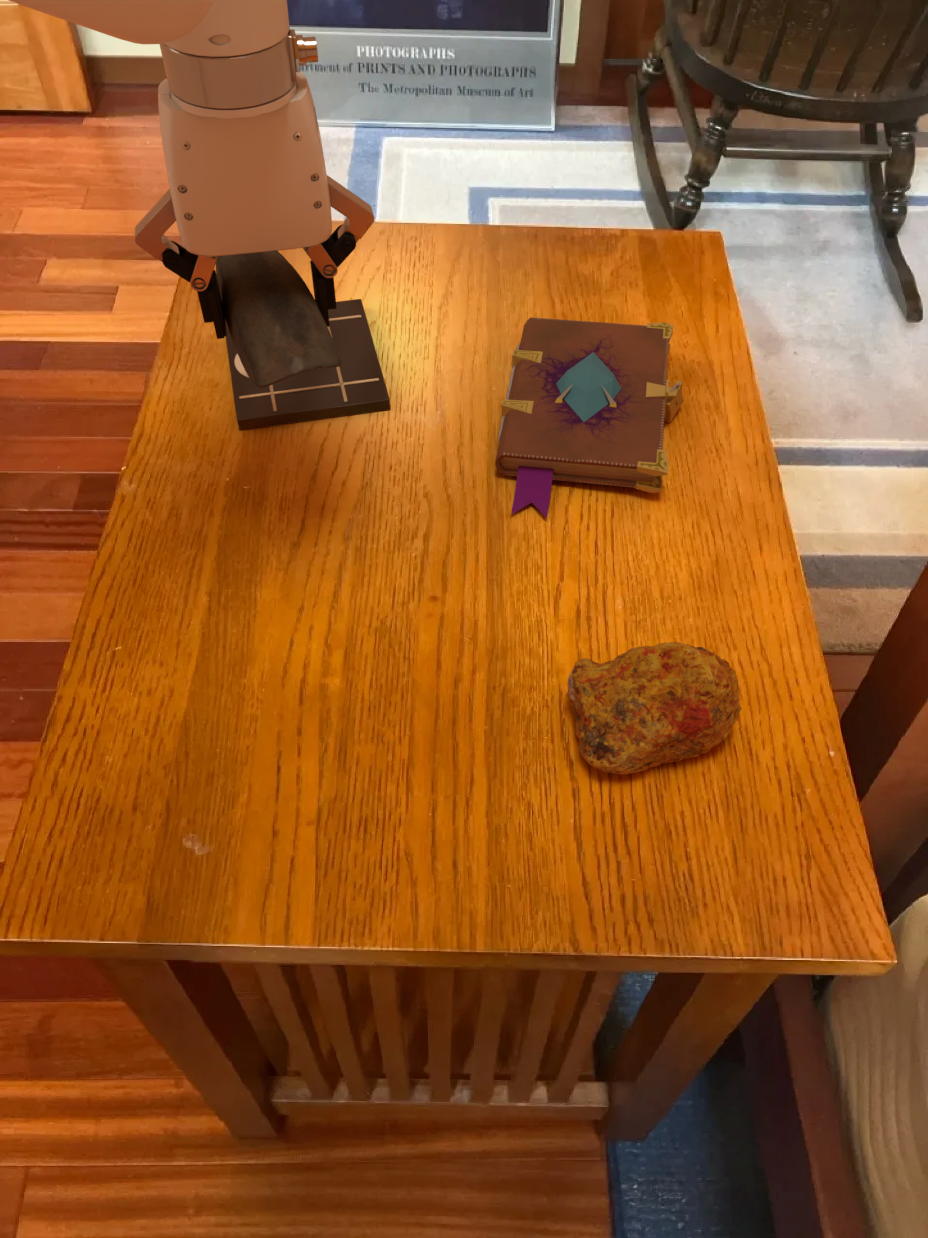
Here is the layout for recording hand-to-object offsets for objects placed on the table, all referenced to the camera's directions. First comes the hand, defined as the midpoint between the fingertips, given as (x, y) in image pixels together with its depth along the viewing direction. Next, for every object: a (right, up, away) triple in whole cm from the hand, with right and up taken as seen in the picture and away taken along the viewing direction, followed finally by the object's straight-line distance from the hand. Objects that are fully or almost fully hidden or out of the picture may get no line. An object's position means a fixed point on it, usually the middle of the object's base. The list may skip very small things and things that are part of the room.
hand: (271, 319), depth 69 cm
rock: (+28, -30, -1) cm, 41 cm away
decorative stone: (0, -1, +1) cm, 1 cm away
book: (+26, -5, +17) cm, 31 cm away
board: (-1, +2, +21) cm, 22 cm away
